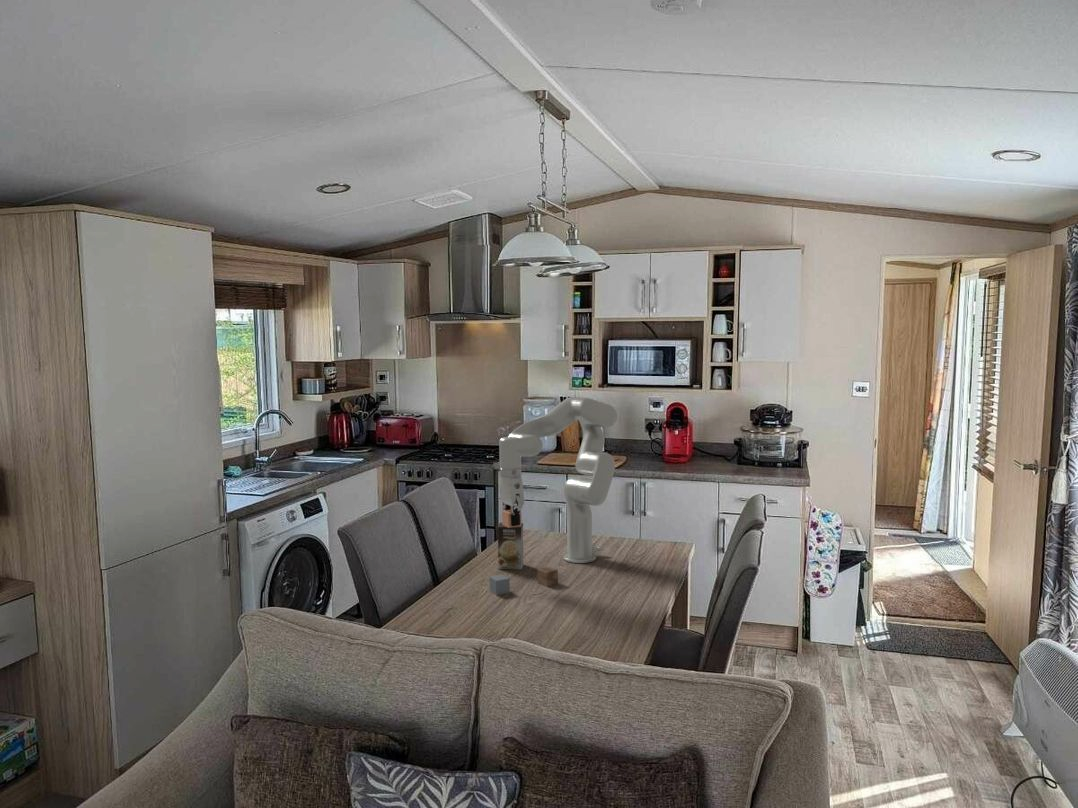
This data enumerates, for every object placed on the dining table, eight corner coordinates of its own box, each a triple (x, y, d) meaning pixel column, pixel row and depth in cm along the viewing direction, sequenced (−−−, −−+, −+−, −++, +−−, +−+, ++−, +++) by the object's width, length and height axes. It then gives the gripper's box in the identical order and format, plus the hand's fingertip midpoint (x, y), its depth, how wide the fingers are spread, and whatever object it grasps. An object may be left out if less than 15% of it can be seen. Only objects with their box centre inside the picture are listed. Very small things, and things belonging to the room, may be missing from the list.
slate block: (503, 588, 258) (502, 574, 257) (509, 592, 253) (509, 578, 253) (489, 591, 255) (489, 576, 255) (496, 595, 251) (495, 580, 250)
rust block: (515, 522, 267) (514, 508, 266) (521, 525, 262) (521, 511, 262) (502, 524, 265) (502, 510, 264) (508, 527, 260) (508, 513, 260)
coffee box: (497, 569, 278) (496, 526, 276) (500, 564, 284) (499, 522, 283) (522, 569, 277) (521, 527, 275) (524, 564, 283) (523, 522, 282)
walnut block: (548, 580, 265) (548, 566, 265) (557, 583, 261) (557, 569, 261) (537, 583, 262) (537, 569, 262) (546, 586, 258) (546, 572, 258)
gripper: (531, 475, 256) (532, 527, 258) (509, 467, 271) (510, 517, 273) (511, 477, 252) (513, 530, 254) (490, 469, 267) (492, 520, 269)
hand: (511, 523), depth 263 cm, fingers closed on rust block, 5 cm apart
